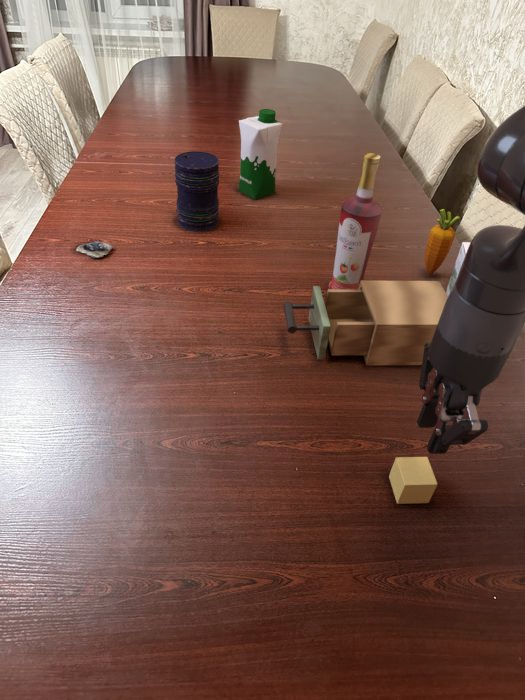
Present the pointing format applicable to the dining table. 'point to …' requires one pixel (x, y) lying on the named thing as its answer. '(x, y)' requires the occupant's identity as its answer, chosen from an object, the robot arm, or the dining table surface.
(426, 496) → the block
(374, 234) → the liquor
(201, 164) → the storage jar
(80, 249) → the oyster shell
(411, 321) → the cabinet
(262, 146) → the milk carton
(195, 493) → the dining table surface
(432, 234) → the carrot
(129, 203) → the dining table surface
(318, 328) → the drawer
